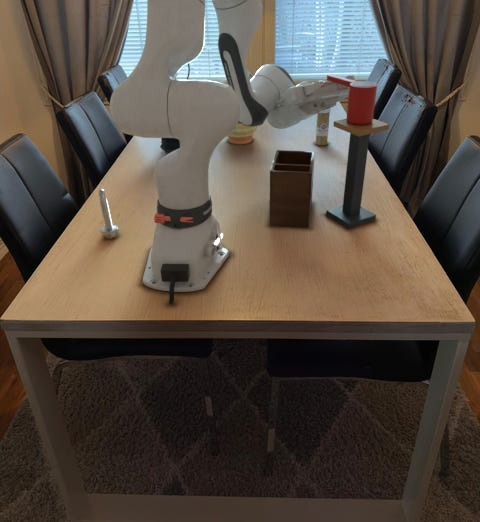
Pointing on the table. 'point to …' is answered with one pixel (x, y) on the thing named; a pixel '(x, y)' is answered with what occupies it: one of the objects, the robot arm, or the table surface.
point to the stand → (355, 174)
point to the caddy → (291, 188)
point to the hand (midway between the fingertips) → (337, 81)
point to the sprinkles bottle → (322, 127)
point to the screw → (107, 218)
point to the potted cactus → (242, 130)
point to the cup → (358, 99)
